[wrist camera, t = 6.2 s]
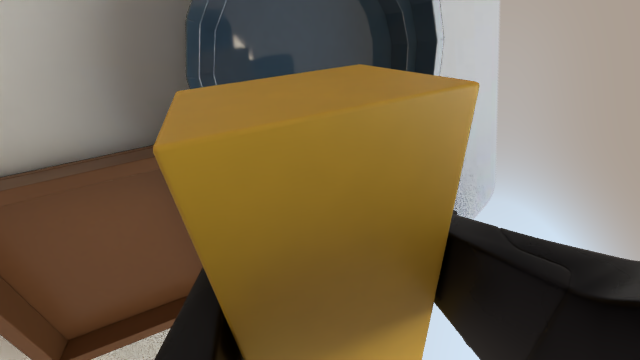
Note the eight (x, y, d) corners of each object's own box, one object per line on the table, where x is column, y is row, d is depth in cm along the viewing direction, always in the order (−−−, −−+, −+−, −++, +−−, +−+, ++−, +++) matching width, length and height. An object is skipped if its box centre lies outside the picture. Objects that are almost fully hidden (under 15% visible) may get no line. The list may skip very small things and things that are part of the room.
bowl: (410, -77, 16) (462, -106, 13) (397, 147, 24) (429, 163, 21) (140, -78, 12) (118, -122, 9) (229, 194, 20) (235, 224, 17)
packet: (360, 63, 8) (482, 81, 4) (361, 274, 12) (422, 361, 9) (174, 90, 6) (149, 147, 3) (254, 319, 11) (279, 442, 7)
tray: (191, 136, 17) (190, 148, 15) (243, 277, 24) (247, 297, 22) (-95, 197, 13) (-143, 223, 11) (64, 344, 20) (50, 375, 18)
